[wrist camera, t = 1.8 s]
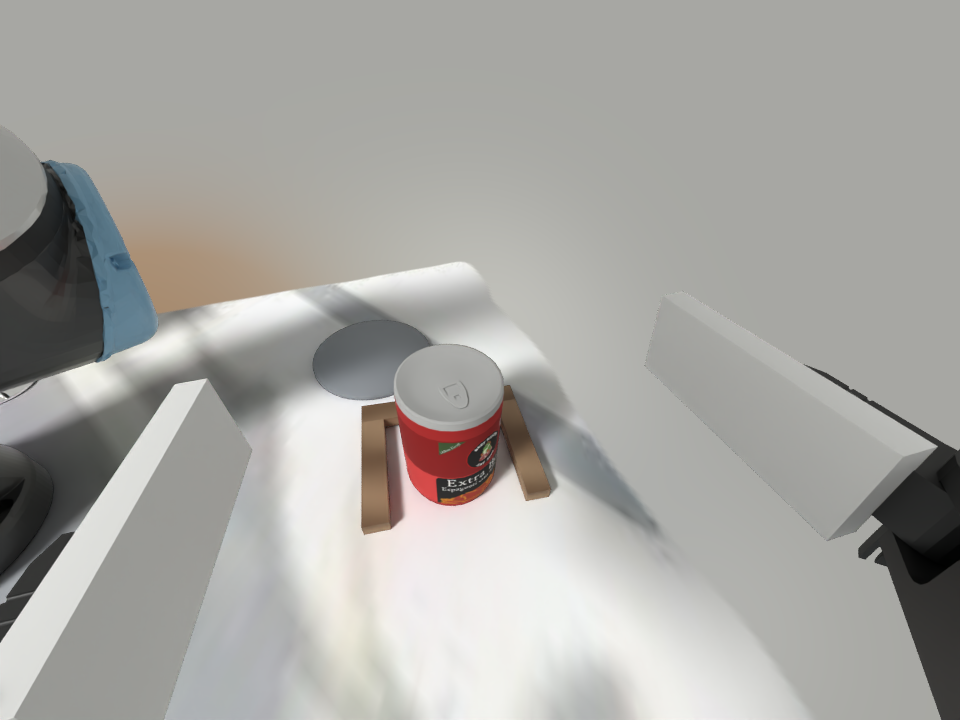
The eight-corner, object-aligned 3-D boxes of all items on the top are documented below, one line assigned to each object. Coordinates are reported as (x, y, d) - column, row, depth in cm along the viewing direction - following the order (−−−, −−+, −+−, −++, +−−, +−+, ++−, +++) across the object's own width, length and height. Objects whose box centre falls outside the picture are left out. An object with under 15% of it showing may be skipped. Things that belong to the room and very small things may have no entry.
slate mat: (288, 373, 41) (286, 369, 41) (366, 313, 50) (365, 309, 49) (384, 418, 37) (383, 414, 36) (450, 344, 46) (450, 340, 45)
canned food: (446, 529, 29) (442, 446, 22) (389, 462, 33) (369, 374, 26) (513, 470, 33) (529, 383, 26) (454, 417, 37) (453, 329, 30)
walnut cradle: (548, 496, 31) (551, 489, 31) (364, 534, 29) (361, 527, 28) (508, 392, 40) (509, 385, 39) (363, 414, 37) (361, 406, 36)
